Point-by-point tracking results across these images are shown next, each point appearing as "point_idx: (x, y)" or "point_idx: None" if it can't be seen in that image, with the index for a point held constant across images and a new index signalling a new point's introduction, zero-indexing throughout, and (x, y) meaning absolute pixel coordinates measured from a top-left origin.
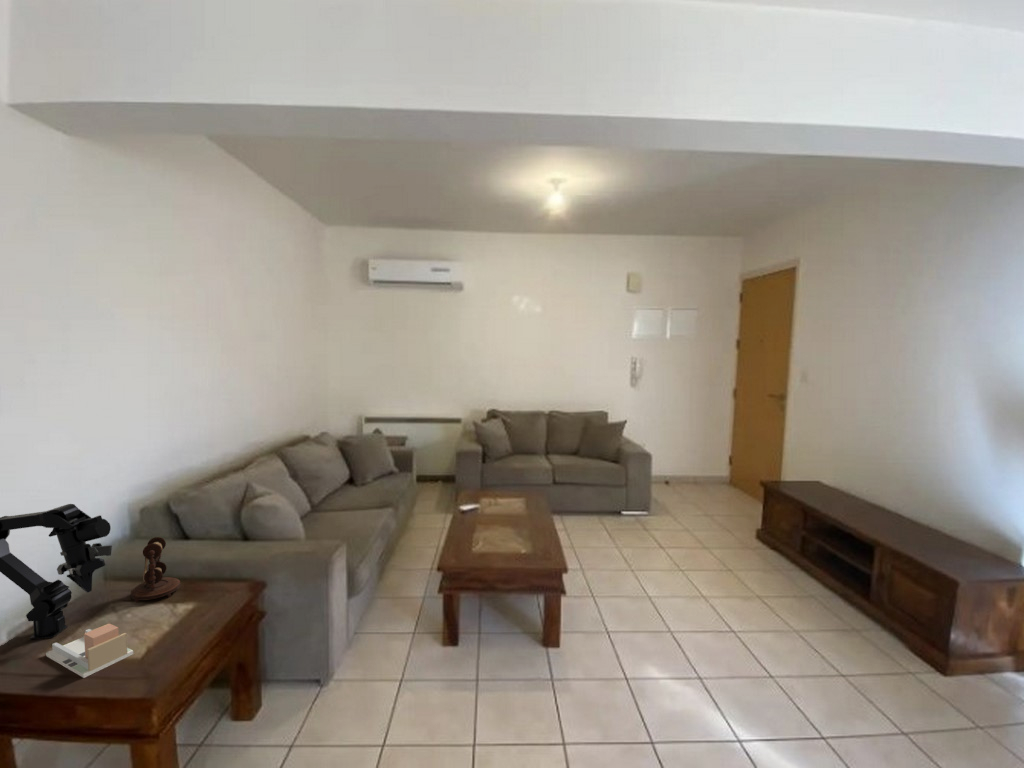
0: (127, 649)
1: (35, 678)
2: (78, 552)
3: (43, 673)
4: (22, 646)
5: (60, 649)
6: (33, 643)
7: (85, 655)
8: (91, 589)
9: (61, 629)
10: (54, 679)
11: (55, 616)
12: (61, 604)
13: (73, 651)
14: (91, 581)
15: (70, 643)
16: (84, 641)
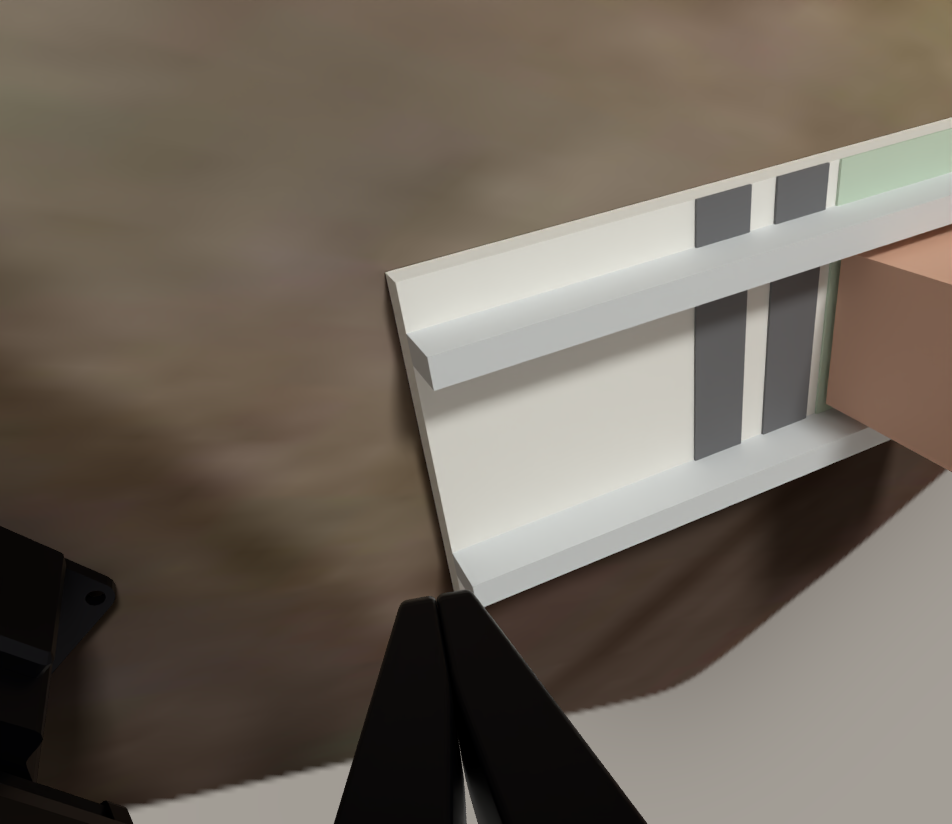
0: (940, 148)
1: (685, 605)
2: None
3: (670, 578)
4: (107, 750)
5: (607, 550)
6: (110, 694)
7: (864, 421)
8: (486, 610)
9: (30, 546)
10: (782, 527)
11: (39, 726)
12: (51, 817)
13: (612, 456)
14: (623, 802)
15: (458, 473)
16: (519, 382)
